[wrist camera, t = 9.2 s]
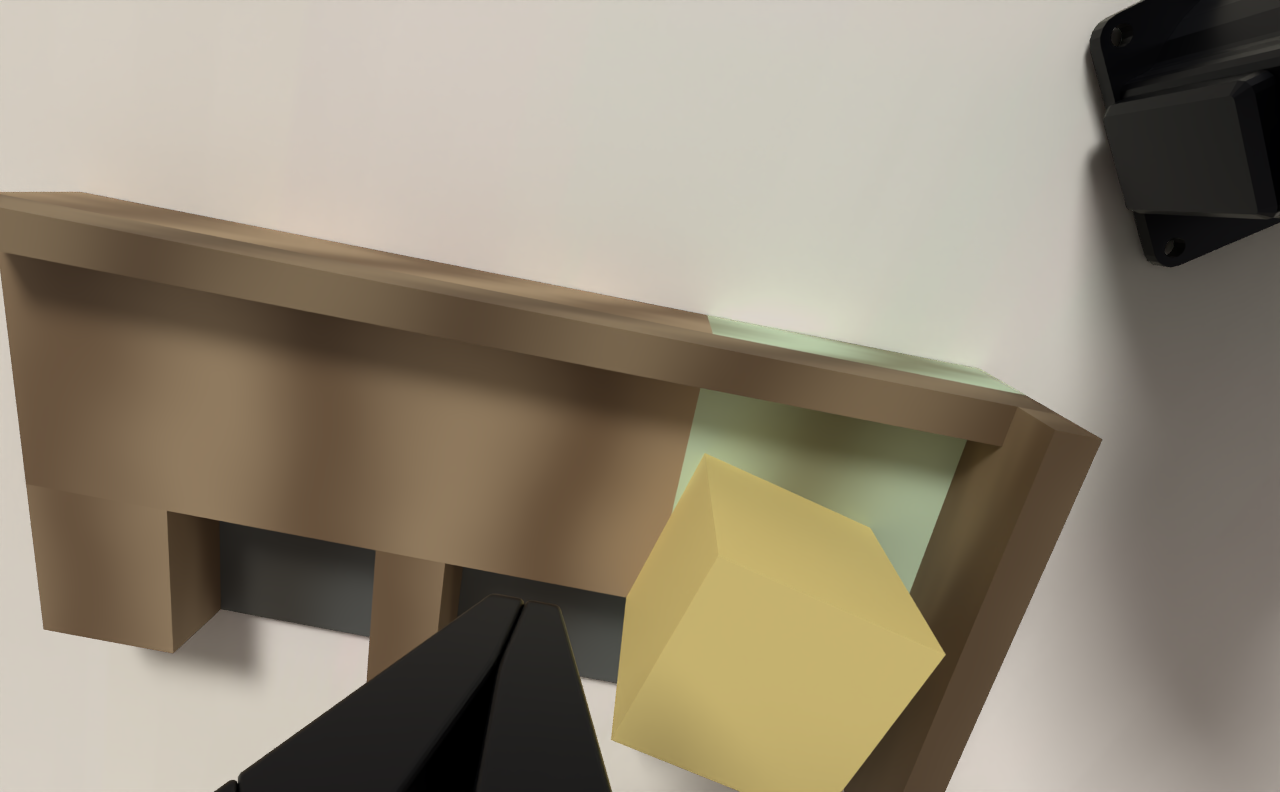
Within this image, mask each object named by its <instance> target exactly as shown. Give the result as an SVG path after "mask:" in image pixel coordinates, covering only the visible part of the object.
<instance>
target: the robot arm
mask: <svg viewBox="0 0 1280 792" xmlns="http://www.w3.org/2000/svg"><path fill="white" fill-rule="evenodd" d="M1114 28H1118V29H1119V30H1120V31H1121V33H1122V40H1121V42H1120V44H1119V46H1118V47H1116V46H1114V45H1113V44H1112V42H1111V33H1112V31H1113V29H1114ZM1090 51H1091V55H1092V58H1093V62H1094V66H1095V70H1096V74H1097V77H1098V81H1099V85H1100V89H1101V93H1102V96H1103V100H1104V104H1105V108H1106V114H1105V116H1104V119H1103V121H1104V125H1105V129H1106V132H1107V136H1108V140H1109V144H1110V147H1111V151H1112V155H1113V159H1114V162H1115V166H1116V170H1117V174H1118V178H1119V181H1120V185H1121V189H1122V193H1123V196H1124V200H1125V204H1126V207H1127V208H1128V209H1130V210H1132V211H1133V214H1134V218H1135V222H1136V225H1137V229H1138V233H1139V237H1140V241H1141V244H1142V248H1143V252H1144V255H1145V257H1146V259H1147V261H1149V262H1150V263H1152V264H1153V265H1159V266H1166V267H1174V266H1179V265H1181V264H1184V263H1186V262H1188V261H1191V260H1193V259H1195V258H1198V257H1200V256H1202V255H1205V254H1207V253H1209V252H1212V251H1214V250H1216V249H1219V248H1221V247H1223V246H1226V245H1228V244H1230V243H1233V242H1235V241H1237V240H1240V239H1242V238H1245V237H1247V236H1249V235H1252V234H1254V233H1256V232H1259V231H1261V230H1263V229H1266V228H1268V227H1270V226H1273V225H1275V224H1277V223H1280V0H1141V1H1139V2H1137V3H1135V4H1133V5H1131V6H1129V7H1127V8H1125V9H1123V10H1121V11H1119V12H1117V13H1115V14H1113V15H1111V16H1109V17H1107V18H1105V19H1104V20H1103V21H1101V22H1100V23H1099V24H1098V25H1097V26H1096V27H1095V29H1094V30H1093V32H1092V35H1091V38H1090ZM1171 239H1172V240H1173V241H1174V247H1173V249H1172V251H1171V252H1170V253H1169V254H1167V255H1166V254H1165V246H1166V244H1167V242H1169V241H1170V240H1171ZM214 792H612V790H611V786H610V783H609V779H608V776H607V772H606V768H605V765H604V761H603V758H602V754H601V751H600V747H599V743H598V740H597V736H596V733H595V729H594V726H593V722H592V718H591V715H590V711H589V708H588V704H587V701H586V697H585V694H584V690H583V686H582V683H581V679H580V676H579V672H578V669H577V665H576V661H575V658H574V654H573V651H572V647H571V644H570V640H569V636H568V633H567V629H566V626H565V622H564V619H563V615H562V612H561V609H560V607H559V606H558V605H555V604H550V603H544V602H539V601H533V600H530V601H527V602H526V603H525V604H524V601H523V600H522V599H521V598H517V597H511V596H506V595H500V594H490V595H488V596H487V597H485V598H484V599H482V600H481V601H480V602H478V603H477V604H475V605H474V606H473V607H471V608H470V609H469V610H467V611H466V612H464V613H463V614H462V615H460V616H459V617H457V618H456V619H455V620H453V621H452V622H450V623H449V624H448V625H446V626H445V627H443V628H442V629H441V630H439V631H438V632H436V633H435V634H434V635H432V636H431V637H429V638H428V639H427V640H425V641H424V642H423V643H421V644H420V645H418V646H417V647H416V648H414V649H413V650H411V651H410V652H409V653H407V654H406V655H404V656H403V657H402V658H400V659H399V660H397V661H396V662H395V663H393V664H392V665H390V666H389V667H388V668H386V669H385V670H384V671H382V672H381V673H379V674H378V675H377V676H375V677H374V678H372V679H371V680H370V681H368V682H367V683H365V684H364V685H363V686H361V687H360V688H358V689H357V690H356V691H354V692H353V693H351V694H350V695H349V696H347V697H346V698H345V699H343V700H342V701H340V702H339V703H338V704H336V705H335V706H333V707H332V708H331V709H329V710H328V711H326V712H325V713H324V714H322V715H321V716H319V717H318V718H317V719H315V720H314V721H312V722H311V723H310V724H308V725H307V726H305V727H304V728H303V729H301V730H300V731H299V732H297V733H296V734H294V735H293V736H292V737H290V738H289V739H287V740H286V741H285V742H283V743H282V744H280V745H279V746H278V747H276V748H275V749H273V750H272V751H271V752H269V753H268V754H266V755H265V756H264V757H262V758H261V759H260V760H258V761H257V762H255V763H254V764H253V765H251V766H250V767H248V768H247V769H246V770H244V771H243V772H241V773H240V775H239V776H238V783H237V781H235V780H230V781H228V782H227V783H226V784H224V785H223V786H221V787H220V788H219V789H217V790H216V791H214Z"/></svg>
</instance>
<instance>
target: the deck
mask: <svg viewBox="0 0 1280 792" xmlns="http://www.w3.org/2000/svg"><path fill="white" fill-rule="evenodd" d="M0 272H1V280H2V289H3V297H4V305H5V313H6V322H7V330H8V338H9V347H10V355H11V363H12V371H13V380H14V388H15V396H16V404H17V413H18V421H19V429H20V438H21V446H22V454H23V462H24V471H25V479H26V487H27V496H28V504H29V512H30V520H31V529H32V537H33V545H34V553H35V562H36V570H37V578H38V587H39V595H40V603H41V611H42V620H43V628H44V630H50V631H55V632H60V633H66V634H71V635H77V636H82V637H87V638H93V639H98V640H103V641H109V642H114V643H120V644H125V645H130V646H136V647H141V648H147V649H152V650H157V651H163V652H168V653H174V652H175V651H176V650H178V649H179V648H180V647H181V646H182V645H183V644H184V643H185V642H186V641H187V640H188V639H189V638H190V637H191V636H193V635H194V634H195V633H196V632H197V631H198V630H199V629H200V628H201V627H202V626H203V625H204V624H205V623H206V622H208V621H209V620H210V619H211V618H212V617H213V616H214V615H215V614H216V613H217V612H218V611H219V610H220V609H223V610H229V611H234V612H239V613H245V614H250V615H255V616H261V617H266V618H271V619H277V620H282V621H287V622H293V623H298V624H303V625H309V626H314V627H320V628H325V629H330V630H336V631H341V632H346V633H352V634H357V635H362V636H368V637H370V641H369V655H368V670H367V682H368V681H370V680H371V679H372V678H374V677H375V676H377V675H378V674H379V673H381V672H382V671H384V670H385V669H386V668H388V667H389V666H390V665H392V664H393V663H395V662H396V661H397V660H399V659H400V658H402V657H403V656H404V655H406V654H407V653H409V652H410V651H411V650H413V649H414V648H416V647H417V646H418V645H420V644H421V643H423V642H424V641H425V640H427V639H428V638H429V637H431V636H432V635H434V634H435V633H436V632H438V631H439V630H441V629H442V628H443V627H445V626H446V625H448V624H449V623H450V622H452V621H453V620H455V619H456V618H457V617H459V616H460V615H462V614H463V613H464V612H466V611H467V610H469V609H470V608H471V607H473V606H474V605H475V604H477V603H478V602H480V601H481V600H482V599H484V598H485V597H487V596H488V595H490V594H500V595H506V596H511V597H517V598H521V599H522V600H523V601H524V604H525V603H526V602H527V601H530V600H533V601H539V602H544V603H550V604H555V605H558V606H559V607H560V609H561V612H562V615H563V619H564V622H565V626H566V629H567V633H568V636H569V640H570V644H571V647H572V651H573V654H574V658H575V661H576V665H577V669H578V672H579V676H582V677H587V678H592V679H598V680H603V681H608V682H614V683H617V679H618V670H619V661H620V651H621V642H622V632H623V623H624V614H625V604H626V597H627V595H628V594H629V592H630V590H631V588H632V586H633V584H634V583H635V581H636V579H637V577H638V575H639V573H640V571H641V570H642V568H643V566H644V564H645V562H646V560H647V559H648V557H649V555H650V553H651V551H652V549H653V548H654V546H655V544H656V542H657V540H658V538H659V536H660V535H661V533H662V531H663V529H664V527H665V525H666V524H667V522H668V520H669V518H670V516H671V514H672V512H673V511H674V509H675V507H676V505H677V503H678V501H679V500H680V498H681V496H682V494H683V492H684V490H685V489H686V487H687V485H688V483H689V481H690V479H691V477H692V476H693V474H694V472H695V470H696V468H697V466H698V465H699V463H700V461H701V459H702V457H703V455H704V453H706V454H708V455H710V456H713V457H715V458H717V459H719V460H722V461H724V462H726V463H728V464H730V465H733V466H735V467H737V468H739V469H741V470H744V471H746V472H748V473H750V474H752V475H755V476H757V477H759V478H761V479H764V480H766V481H768V482H770V483H772V484H775V485H777V486H779V487H781V488H783V489H786V490H788V491H790V492H792V493H794V494H797V495H799V496H801V497H803V498H805V499H808V500H810V501H812V502H814V503H817V504H819V505H821V506H823V507H825V508H828V509H830V510H832V511H834V512H836V513H839V514H841V515H843V516H845V517H847V518H850V519H852V520H854V521H856V522H859V523H861V524H863V525H865V526H867V527H870V528H871V530H872V532H873V533H874V535H875V537H876V538H877V540H878V542H879V543H880V545H881V547H882V548H883V550H884V552H885V554H886V555H887V557H888V559H889V560H890V562H891V564H892V565H893V567H894V569H895V570H896V572H897V574H898V575H899V577H900V579H901V580H902V582H903V584H904V585H905V587H906V589H907V590H908V592H909V594H910V596H911V597H912V599H913V601H914V602H915V604H916V606H917V607H918V609H919V611H920V612H921V614H922V616H923V617H924V619H925V621H926V622H927V624H928V626H929V627H930V629H931V631H932V632H933V634H934V636H935V638H936V639H937V641H938V643H939V644H940V646H941V648H942V649H943V651H944V653H945V654H946V655H945V656H944V658H943V659H942V660H941V662H940V663H939V664H938V666H937V667H936V668H935V670H934V671H933V672H932V673H931V675H930V676H929V677H928V679H927V680H926V681H925V683H924V684H923V685H922V687H921V688H920V689H919V691H918V692H917V693H916V695H915V696H914V697H913V698H912V700H911V701H910V702H909V704H908V705H907V706H906V708H905V709H904V710H903V712H902V713H901V714H900V716H899V717H898V718H897V720H896V721H895V722H894V723H893V725H892V726H891V727H890V729H889V730H888V731H887V733H886V734H885V735H884V737H883V738H882V739H881V741H880V742H879V743H878V745H877V746H876V747H875V749H874V750H873V751H872V752H871V754H870V755H869V756H868V758H867V759H866V760H865V762H864V763H863V764H862V766H861V767H860V768H859V770H858V771H857V772H856V774H855V775H854V776H853V777H852V779H851V780H850V781H849V783H848V784H847V785H846V787H845V788H844V792H945V790H946V788H947V786H948V784H949V781H950V779H951V777H952V775H953V772H954V770H955V768H956V766H957V764H958V761H959V759H960V757H961V755H962V752H963V750H964V748H965V746H966V743H967V741H968V739H969V737H970V734H971V732H972V730H973V728H974V725H975V723H976V721H977V719H978V717H979V714H980V712H981V710H982V708H983V705H984V703H985V701H986V699H987V696H988V694H989V692H990V690H991V687H992V685H993V683H994V681H995V678H996V676H997V674H998V672H999V670H1000V667H1001V665H1002V663H1003V661H1004V658H1005V656H1006V654H1007V652H1008V649H1009V647H1010V645H1011V643H1012V640H1013V638H1014V636H1015V634H1016V631H1017V629H1018V627H1019V625H1020V623H1021V620H1022V618H1023V616H1024V614H1025V611H1026V609H1027V607H1028V605H1029V602H1030V600H1031V598H1032V596H1033V593H1034V591H1035V589H1036V587H1037V584H1038V582H1039V580H1040V578H1041V576H1042V573H1043V571H1044V569H1045V567H1046V564H1047V562H1048V560H1049V558H1050V555H1051V553H1052V551H1053V549H1054V546H1055V544H1056V542H1057V540H1058V538H1059V535H1060V533H1061V531H1062V529H1063V526H1064V524H1065V522H1066V520H1067V517H1068V515H1069V513H1070V511H1071V508H1072V506H1073V504H1074V502H1075V499H1076V497H1077V495H1078V493H1079V491H1080V488H1081V486H1082V484H1083V482H1084V479H1085V477H1086V475H1087V473H1088V470H1089V468H1090V466H1091V464H1092V461H1093V459H1094V457H1095V455H1096V452H1097V450H1098V448H1099V446H1100V444H1101V441H1102V439H1101V438H1099V437H1097V436H1096V435H1094V434H1092V433H1090V432H1089V431H1087V430H1085V429H1083V428H1082V427H1080V426H1078V425H1076V424H1075V423H1073V422H1071V421H1069V420H1068V419H1066V418H1064V417H1063V416H1061V415H1059V414H1057V413H1056V412H1054V411H1052V410H1050V409H1049V408H1047V407H1045V406H1043V405H1042V404H1040V403H1038V402H1036V401H1035V400H1033V399H1031V398H1029V397H1028V396H1026V395H1024V394H1023V393H1021V392H1019V391H1017V390H1016V389H1014V388H1012V387H1010V386H1009V385H1007V384H1005V383H1003V382H1002V381H1000V380H998V379H996V378H995V377H993V376H991V375H989V374H988V373H986V372H984V371H983V370H981V369H978V368H973V367H968V366H963V365H957V364H952V363H947V362H942V361H937V360H932V359H927V358H922V357H917V356H912V355H907V354H902V353H896V352H891V351H886V350H881V349H876V348H871V347H866V346H861V345H856V344H851V343H846V342H841V341H835V340H830V339H825V338H820V337H815V336H810V335H805V334H800V333H795V332H790V331H785V330H780V329H774V328H769V327H764V326H759V325H754V324H749V323H744V322H739V321H734V320H729V319H724V318H719V317H713V316H708V315H703V314H698V313H693V312H688V311H683V310H678V309H673V308H668V307H663V306H658V305H652V304H647V303H642V302H637V301H632V300H627V299H622V298H617V297H612V296H607V295H602V294H597V293H591V292H586V291H581V290H576V289H571V288H566V287H561V286H556V285H551V284H546V283H541V282H535V281H530V280H525V279H520V278H515V277H510V276H505V275H500V274H495V273H490V272H485V271H480V270H474V269H469V268H464V267H459V266H454V265H449V264H444V263H439V262H434V261H429V260H424V259H419V258H413V257H408V256H403V255H398V254H393V253H388V252H383V251H378V250H373V249H368V248H363V247H358V246H352V245H347V244H342V243H337V242H332V241H327V240H322V239H317V238H312V237H307V236H302V235H297V234H291V233H286V232H281V231H276V230H271V229H266V228H261V227H256V226H251V225H246V224H241V223H236V222H230V221H225V220H220V219H215V218H210V217H205V216H200V215H195V214H190V213H185V212H180V211H175V210H169V209H164V208H159V207H154V206H149V205H144V204H139V203H134V202H129V201H124V200H119V199H114V198H108V197H103V196H98V195H93V194H88V193H83V192H0Z"/></svg>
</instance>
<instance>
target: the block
mask: <svg viewBox="0 0 1280 792" xmlns="http://www.w3.org/2000/svg"><path fill="white" fill-rule="evenodd" d="M945 655H946V654H945V653H944V651H943V649H942V648H941V646H940V644H939V643H938V641H937V639H936V638H935V636H934V634H933V632H932V631H931V629H930V627H929V626H928V624H927V622H926V621H925V619H924V617H923V616H922V614H921V612H920V611H919V609H918V607H917V606H916V604H915V602H914V601H913V599H912V597H911V596H910V594H909V592H908V590H907V589H906V587H905V585H904V584H903V582H902V580H901V579H900V577H899V575H898V574H897V572H896V570H895V569H894V567H893V565H892V564H891V562H890V560H889V559H888V557H887V555H886V554H885V552H884V550H883V548H882V547H881V545H880V543H879V542H878V540H877V538H876V537H875V535H874V533H873V532H872V530H871V528H870V527H867V526H865V525H863V524H861V523H859V522H856V521H854V520H852V519H850V518H847V517H845V516H843V515H841V514H839V513H836V512H834V511H832V510H830V509H828V508H825V507H823V506H821V505H819V504H817V503H814V502H812V501H810V500H808V499H805V498H803V497H801V496H799V495H797V494H794V493H792V492H790V491H788V490H786V489H783V488H781V487H779V486H777V485H775V484H772V483H770V482H768V481H766V480H764V479H761V478H759V477H757V476H755V475H752V474H750V473H748V472H746V471H744V470H741V469H739V468H737V467H735V466H733V465H730V464H728V463H726V462H724V461H722V460H719V459H717V458H715V457H713V456H710V455H708V454H706V453H704V455H703V457H702V459H701V461H700V463H699V465H698V466H697V468H696V470H695V472H694V474H693V476H692V477H691V479H690V481H689V483H688V485H687V487H686V489H685V490H684V492H683V494H682V496H681V498H680V500H679V501H678V503H677V505H676V507H675V509H674V511H673V512H672V514H671V516H670V518H669V520H668V522H667V524H666V525H665V527H664V529H663V531H662V533H661V535H660V536H659V538H658V540H657V542H656V544H655V546H654V548H653V549H652V551H651V553H650V555H649V557H648V559H647V560H646V562H645V564H644V566H643V568H642V570H641V571H640V573H639V575H638V577H637V579H636V581H635V583H634V584H633V586H632V588H631V590H630V592H629V594H628V595H627V597H626V604H625V614H624V623H623V632H622V642H621V651H620V661H619V670H618V679H617V689H616V698H615V708H614V717H613V726H612V736H611V740H613V741H615V742H618V743H620V744H623V745H625V746H628V747H630V748H633V749H635V750H638V751H640V752H643V753H645V754H648V755H650V756H653V757H655V758H658V759H660V760H663V761H665V762H668V763H670V764H673V765H675V766H678V767H680V768H683V769H685V770H688V771H690V772H692V773H695V774H697V775H700V776H702V777H705V778H707V779H710V780H712V781H715V782H717V783H720V784H722V785H725V786H727V787H730V788H732V789H735V790H737V791H740V792H842V791H843V789H844V788H845V787H846V785H847V784H848V783H849V781H850V780H851V779H852V777H853V776H854V775H855V774H856V772H857V771H858V770H859V768H860V767H861V766H862V764H863V763H864V762H865V760H866V759H867V758H868V756H869V755H870V754H871V752H872V751H873V750H874V749H875V747H876V746H877V745H878V743H879V742H880V741H881V739H882V738H883V737H884V735H885V734H886V733H887V731H888V730H889V729H890V727H891V726H892V725H893V723H894V722H895V721H896V720H897V718H898V717H899V716H900V714H901V713H902V712H903V710H904V709H905V708H906V706H907V705H908V704H909V702H910V701H911V700H912V698H913V697H914V696H915V695H916V693H917V692H918V691H919V689H920V688H921V687H922V685H923V684H924V683H925V681H926V680H927V679H928V677H929V676H930V675H931V673H932V672H933V671H934V670H935V668H936V667H937V666H938V664H939V663H940V662H941V660H942V659H943V658H944V656H945Z"/></svg>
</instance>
